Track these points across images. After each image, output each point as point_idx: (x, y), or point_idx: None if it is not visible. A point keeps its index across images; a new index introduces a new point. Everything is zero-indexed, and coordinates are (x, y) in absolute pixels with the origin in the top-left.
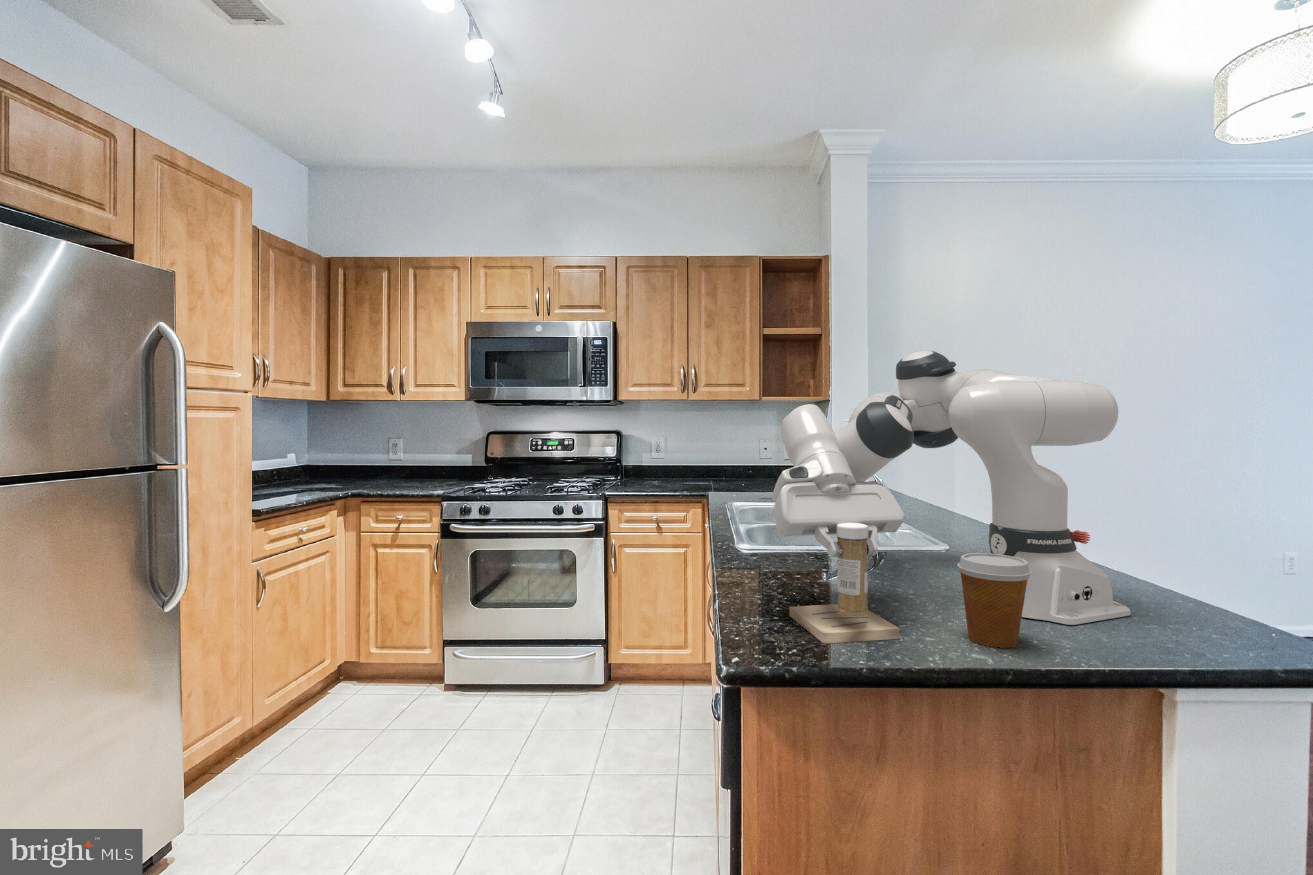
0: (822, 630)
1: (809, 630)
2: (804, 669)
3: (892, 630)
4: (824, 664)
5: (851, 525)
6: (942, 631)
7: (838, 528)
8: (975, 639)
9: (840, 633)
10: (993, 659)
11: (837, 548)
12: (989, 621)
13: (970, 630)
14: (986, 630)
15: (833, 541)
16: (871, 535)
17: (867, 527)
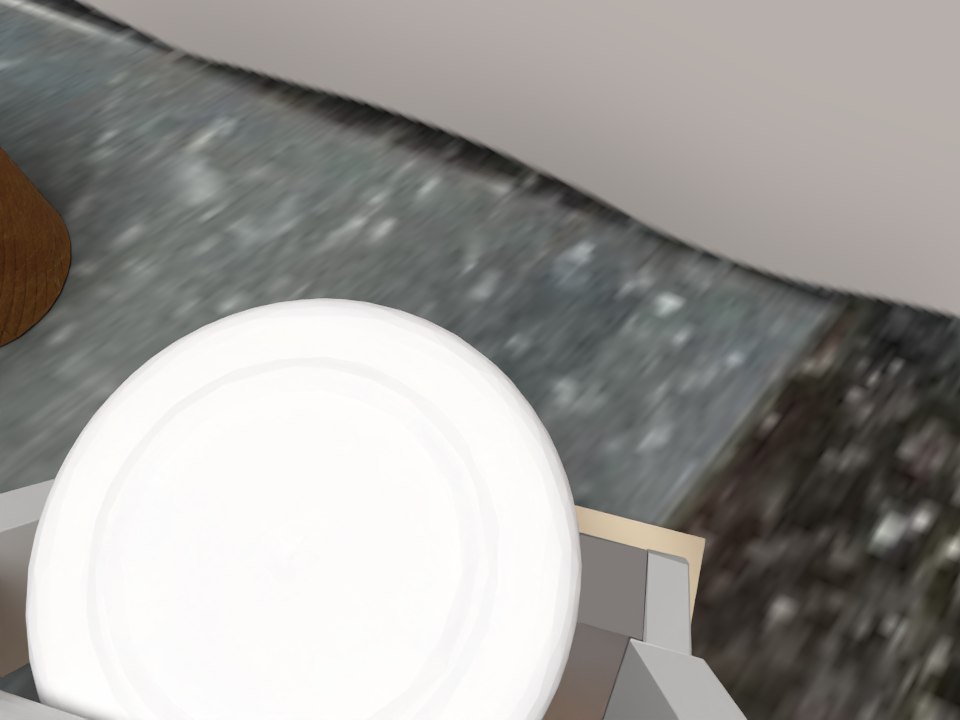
0: None
1: None
2: (952, 332)
3: None
4: (838, 341)
5: (376, 484)
6: (45, 436)
7: (576, 622)
8: (59, 271)
9: (609, 514)
10: (182, 141)
11: (628, 555)
12: (6, 161)
13: (31, 285)
14: (34, 197)
15: (642, 639)
16: (31, 524)
17: (179, 343)
